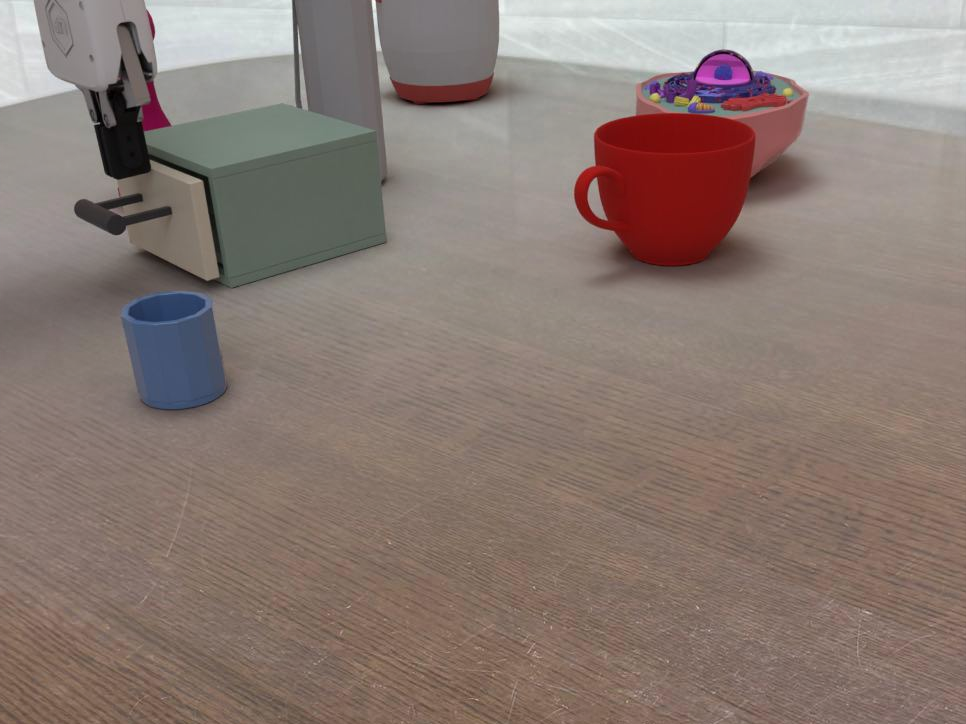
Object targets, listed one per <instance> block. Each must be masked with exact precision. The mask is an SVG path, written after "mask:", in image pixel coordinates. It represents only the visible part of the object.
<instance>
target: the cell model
mask: <svg viewBox="0 0 966 724" xmlns="http://www.w3.org/2000/svg"><path fill="white" fill-rule="evenodd" d="M809 97H810V92H808V91H807V90H806V89H804V88H803V87H801V86H800V85H799V84H797V82H796V80H794V79H792V78H789V77H786V76H781V75H778V74H773V73H769V72H765V71H761V70H754V69H753V67H752V65H751V64H750V62H749V61H748V60H747V59H746V58H745V57H744V56H743V55H741V54H740V53H739V52H737V51H735V50H732V49H723V48H722V49H717V50H714V51H711V52H709V53H708V54H706V55H704V57H702V58H701V60H699V62H698V64H697V65H696V67H695V69H694V70H693V71H692V70H691V71H682V72H669V73H661V74H657V75H655V76H653V77H651V78H648V79H646V80H644V81H643V82H639V83H637V84H636V85H635V116H637V115H645V114H658V113H691V114H704V115H712V116H719V117H724V118H729V119H732V120H736V121H739V122H742V123H744V124H746V125H748V126H749V127H751V128H752V129H753V131H754V132H755V138H756V139H755V150H754V157H753V164H752V170H751V176H750V179H751V178H753V177H755V175H756V174H758V173H759V172H761V171H762V170H764V169H766V168H767V167H769V166H770V165H772V164H773V163H775V162H776V161H777V160H778V159H779V158H781V156H783V154H784V153H785V152H786V151H787V150H788V149H789V148H790V147H791V146H792V145H794V144H795V142H796V141H797V140H798V139H799V138H800V136H801V135H802V132H803V130H804V125H805V119H806V113H807V107H808V102H809Z"/></svg>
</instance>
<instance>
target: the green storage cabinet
mask: <svg viewBox="0 0 966 724" xmlns="http://www.w3.org/2000/svg"><path fill="white" fill-rule="evenodd" d="M144 135H145V140H146V145H147V150H148V154H150V155H153V156H155V157H158V158H160V159H163V160H166V161H168V162H171V163H173V164H176V165H178V166H181V167H183V168H186V169H189V170H191V171H194V172H196V173H199V174H201V175H204V176H206V177H209V178H208V180H209V186H210V191H211V197H212V203H213V209H214V215H215V221H216V227H217V232H218V238H219V244H220V250H221V256H222V262H223V264H221V263H219V262H217V265H218V270H219V277H218V278H215V279H213V280H215V281H216V282H218V283H220V284H222V285H224V286H226V287H228V288H230V289H232V288H236V287H241V286H243V285H246V284H251V283H253V282H257V281H260V280H263V279H266V278H270V277H273V276H277V275H279V274H280V275H281V274H283V273H287V272H291V271H293V270H297V269H300V268H303V267H308V266H310V265H314V264H318V263H320V262H324V261H328V260H332V259H334V258H337V257H340V256H345V255H347V254H350V253H355V252H358V251H361V250H364V249H367V248H370V247H375V246H379V245H381V244H384V243H387V233H386V221H385V211H384V210H385V209H384V200H383V189H382V188H383V187H382V181H381V176H380V166H379V155H378V144H377V132H376V130H372V129H369V128H365V127H362V126H358V125H355V124H352V123H348V122H345V121H341V120H338V119H334V118H331V117H328V116H324V115H321V114H317V113H314V112H311V111H308V109H304V108H302V109H300V108H297V107H296V106H293V105H290V104H286V103H283V102H282V103H277V104H272V105H268V106H262V107H258V108H252V109H248V110H243V111H238V112H233V113H228V114H224V115H220V116H213V117H209V118H204V119H199V120H195V121H189V122H184V123H180V124H179V123H178V124H174V125H172V126H169V127H164V128H159V129H154V130H149V131H145V132H144Z"/></svg>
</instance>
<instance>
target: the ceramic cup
mask: <svg viewBox="0 0 966 724" xmlns="http://www.w3.org/2000/svg"><path fill="white" fill-rule="evenodd" d="M755 139H756V138H755V132H754V131H753V129H752V128H751V127H749V126H748V125H746V124H744V123H742V122H739V121H736V120H732V119H729V118H724V117H719V116H712V115H704V114H691V113H658V114H645V115H637V116H636V115H630V116H627V117H620V118H617V119H614V120H611V121H608V122H606V123H603V124H601V125H600V126H598V127H597V128H596V130H595V131H594V133H593V149H594V162H595V163H594V165H593V166H592V165H591V166H589V167H587V168H585V169H584V170H583V171H581V173H580V174H579V175H578V177H577V178H576V181H575V184H574V187H573V198H574V203H575V207H576V209H577V211H578V213H579V214H580V215H581V217H582V218H583V219H584V220H585V221H586V222H587V223H588V224H590V225H592V226H594V227H596V228H598V229H603V230H606V231H611V232H614V234H615V235H616V236H617V238H619V240H620V241H621V243H622V244H623V245H624V246H625V247H626V248H627V249H628V250H629V252H630V253H631V255H632V257H634V259H636V260H638V261H640V262H643V263H646V264H651V265H655V266H669V267H672V266H673V267H674V266H685V265H692V264H696V263H699V262H701V261H704V260H706V259H707V258H708V257H709V256H710V253H712V251H714V249H715V248H717V247H718V245H720V243H721V242H722V241H723V240H724V239H725V238H726V236H727V235H728V234H729V233H730V231H731V229H732V228H733V227H734V225H736V222H737V220H738V218H739V216H740V215H741V212H742V209H743V207H744V204H745V201H746V198H747V195H748V194H747V193H748V190H749V186H750V181H751V178H750V176H751V170H752V164H753V157H754V150H755ZM595 179H596V182H597V188H598V194H599V198H600V204H601V206H602V209H603V213H604V215H605V218H606V219H603V218H600V217H598V216H597V215H596V214H595V213H594V211H593V210H592V208H591V206H590V203H589V197H588V196H589V188H590V186H591V184H592V182H593V181H594V180H595Z"/></svg>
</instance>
